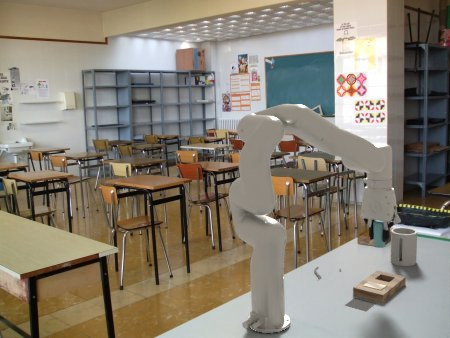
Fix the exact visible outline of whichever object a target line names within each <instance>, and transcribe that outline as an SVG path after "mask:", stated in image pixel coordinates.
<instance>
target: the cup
mask: <svg viewBox="0 0 450 338" xmlns="http://www.w3.org/2000/svg"><path fill="white" fill-rule="evenodd" d="M417 244H418V231H417V230H416V229H414V228H409V227H394V228H391V229H390V262H391V263H392V264H393V265H396V266H400V267H411V266H412V267H413V266H414V265H416V264H417V252H418V251H417V250H418V249H417V248H418V245H417ZM400 259H401V260H400Z"/></svg>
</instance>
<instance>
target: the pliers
mask: <svg viewBox="0 0 450 338" xmlns="http://www.w3.org/2000/svg"><path fill="white" fill-rule="evenodd" d="M318 269H319V266H316V267H315V268H314V271H313V272H314V274H315V276H316V277H317V278H318V280H317V281H320V280H321V279H322V278H323V277H322V276H321V275H320V274H319V273H318V272H317V270H318ZM338 272H339V273H341V272H342V268H339V271H338Z"/></svg>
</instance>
